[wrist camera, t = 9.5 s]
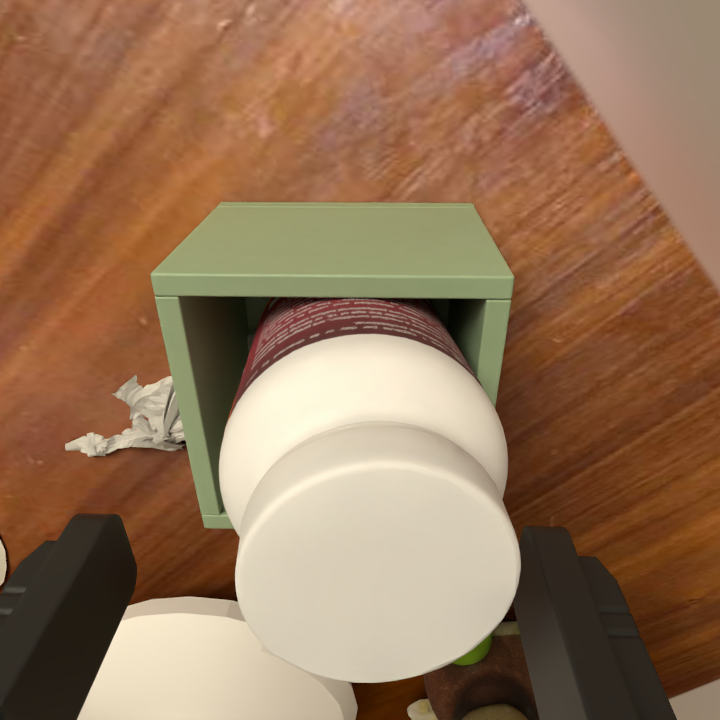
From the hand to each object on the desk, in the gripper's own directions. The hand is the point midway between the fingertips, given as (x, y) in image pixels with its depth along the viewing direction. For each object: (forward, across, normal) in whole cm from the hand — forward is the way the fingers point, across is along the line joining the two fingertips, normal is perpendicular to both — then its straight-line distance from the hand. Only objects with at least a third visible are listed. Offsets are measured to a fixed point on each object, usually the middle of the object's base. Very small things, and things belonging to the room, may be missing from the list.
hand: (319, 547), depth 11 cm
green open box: (+11, 0, 0) cm, 11 cm away
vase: (+11, +8, +22) cm, 25 cm away
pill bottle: (+9, 0, 0) cm, 9 cm away
